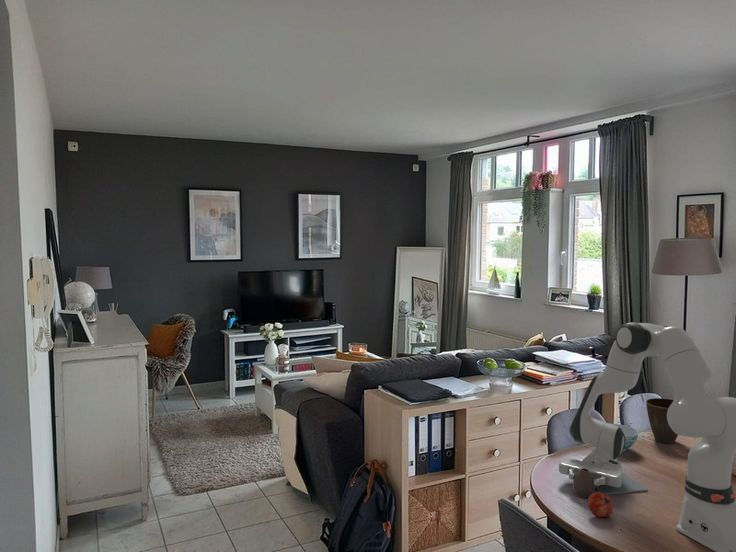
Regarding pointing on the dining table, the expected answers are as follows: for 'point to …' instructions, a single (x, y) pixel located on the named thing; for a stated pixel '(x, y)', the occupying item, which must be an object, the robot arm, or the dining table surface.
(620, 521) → the dining table surface
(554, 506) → the dining table surface
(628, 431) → the chinaware
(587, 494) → the vase
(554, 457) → the dining table surface
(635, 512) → the dining table surface
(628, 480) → the mat
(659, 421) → the plant pot
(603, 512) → the pomegranate
